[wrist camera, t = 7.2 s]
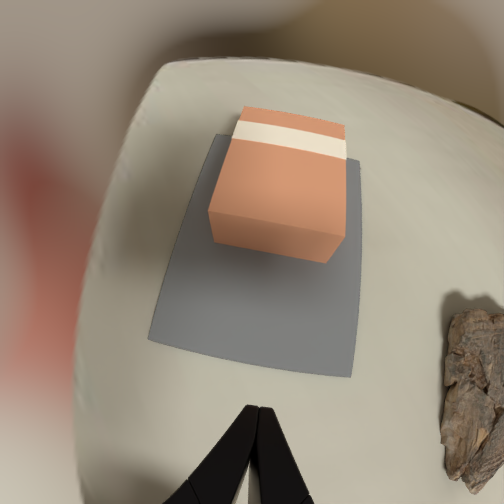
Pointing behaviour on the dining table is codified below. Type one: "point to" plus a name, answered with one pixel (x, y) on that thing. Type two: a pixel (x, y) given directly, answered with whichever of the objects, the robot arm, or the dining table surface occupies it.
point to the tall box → (282, 186)
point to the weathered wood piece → (474, 398)
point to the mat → (261, 291)
